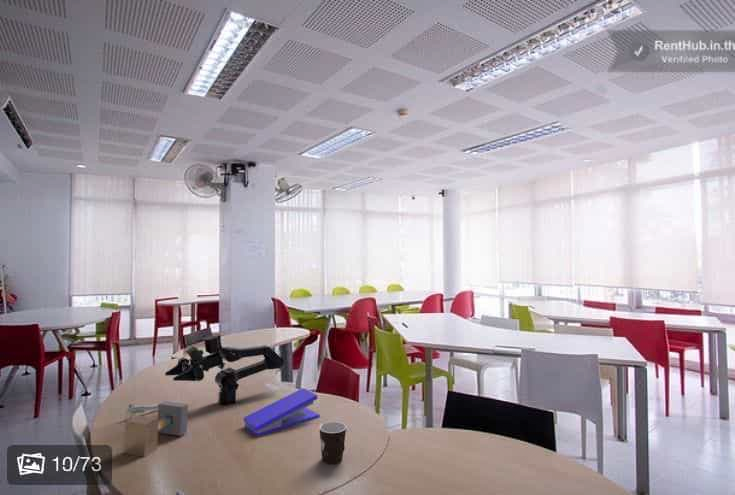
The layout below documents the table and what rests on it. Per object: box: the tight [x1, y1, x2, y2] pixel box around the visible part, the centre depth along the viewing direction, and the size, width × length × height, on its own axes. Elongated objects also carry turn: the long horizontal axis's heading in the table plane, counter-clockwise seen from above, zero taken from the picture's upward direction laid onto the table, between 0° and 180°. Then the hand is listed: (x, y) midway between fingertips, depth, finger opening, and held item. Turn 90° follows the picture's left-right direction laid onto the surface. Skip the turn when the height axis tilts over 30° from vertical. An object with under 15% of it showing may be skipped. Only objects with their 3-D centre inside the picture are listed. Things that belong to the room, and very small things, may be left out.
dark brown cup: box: [318, 421, 347, 465], centre depth 118 cm, size 12×9×10 cm
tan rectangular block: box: [123, 415, 173, 457], centre depth 128 cm, size 16×8×10 cm, turn 166°
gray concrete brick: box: [157, 400, 189, 437], centre depth 136 cm, size 3×10×10 cm, turn 76°
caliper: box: [124, 403, 158, 422], centre depth 155 cm, size 20×1×6 cm, turn 151°
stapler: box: [243, 387, 320, 437], centre depth 148 cm, size 12×28×10 cm, turn 133°
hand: (169, 376), depth 150 cm, fingers open, 9 cm apart
